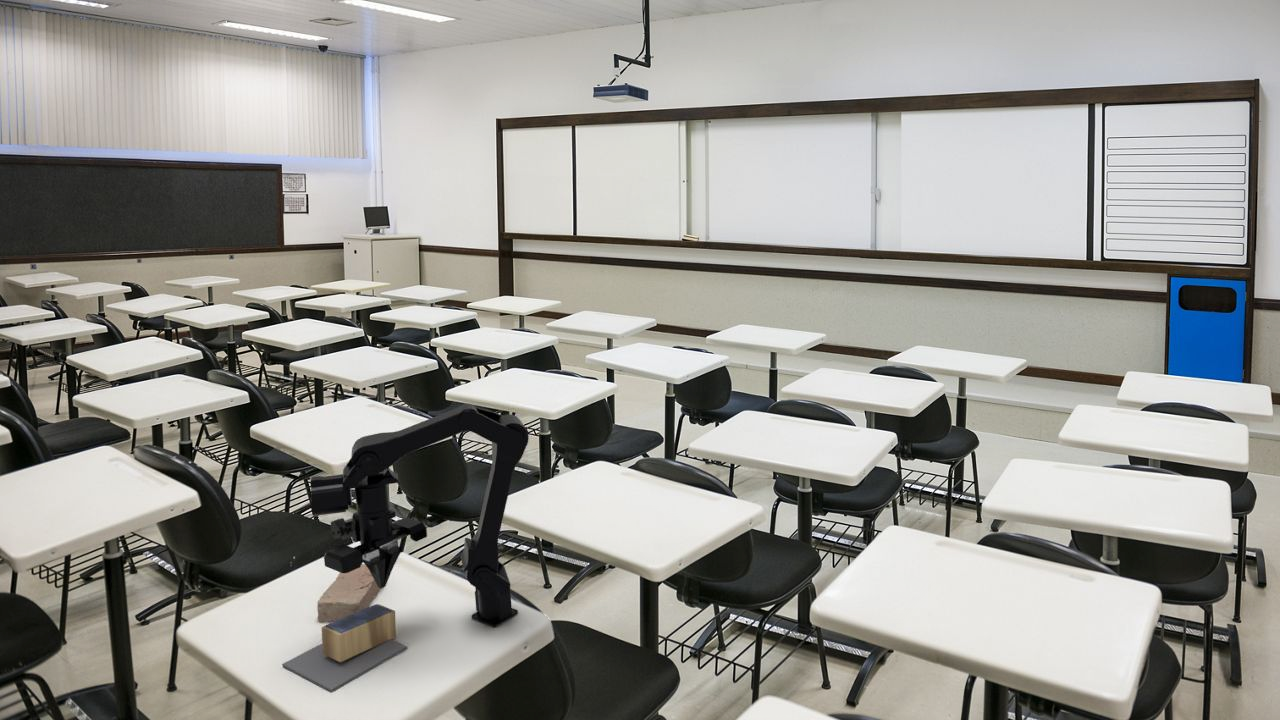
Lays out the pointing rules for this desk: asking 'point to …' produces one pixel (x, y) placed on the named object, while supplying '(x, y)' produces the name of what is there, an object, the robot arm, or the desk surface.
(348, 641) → the oak block
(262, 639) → the desk surface
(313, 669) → the mat
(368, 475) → the robot arm
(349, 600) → the brick
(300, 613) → the desk surface
